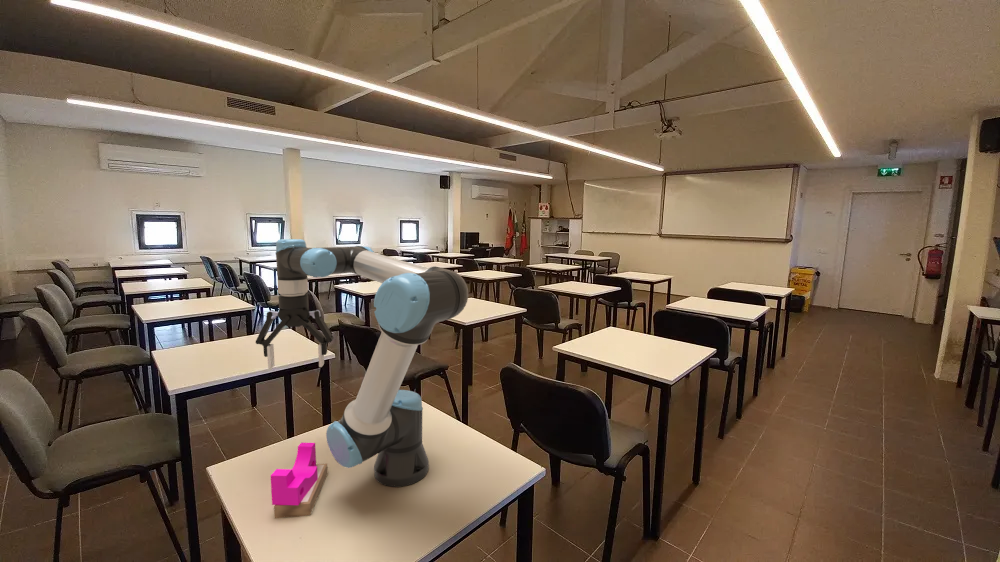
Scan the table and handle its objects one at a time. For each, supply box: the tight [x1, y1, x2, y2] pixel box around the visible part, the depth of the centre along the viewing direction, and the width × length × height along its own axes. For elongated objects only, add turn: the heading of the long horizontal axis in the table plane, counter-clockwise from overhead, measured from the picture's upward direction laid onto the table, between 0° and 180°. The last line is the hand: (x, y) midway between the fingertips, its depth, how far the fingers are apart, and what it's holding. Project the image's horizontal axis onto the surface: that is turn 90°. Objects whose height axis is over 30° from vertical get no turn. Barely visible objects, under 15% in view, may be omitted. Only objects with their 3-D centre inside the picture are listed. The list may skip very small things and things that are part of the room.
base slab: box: [273, 463, 329, 519], centre depth 106 cm, size 8×17×3 cm, turn 10°
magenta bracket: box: [270, 442, 318, 506], centre depth 104 cm, size 15×6×8 cm, turn 0°
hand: (296, 366), depth 118 cm, fingers open, 13 cm apart
